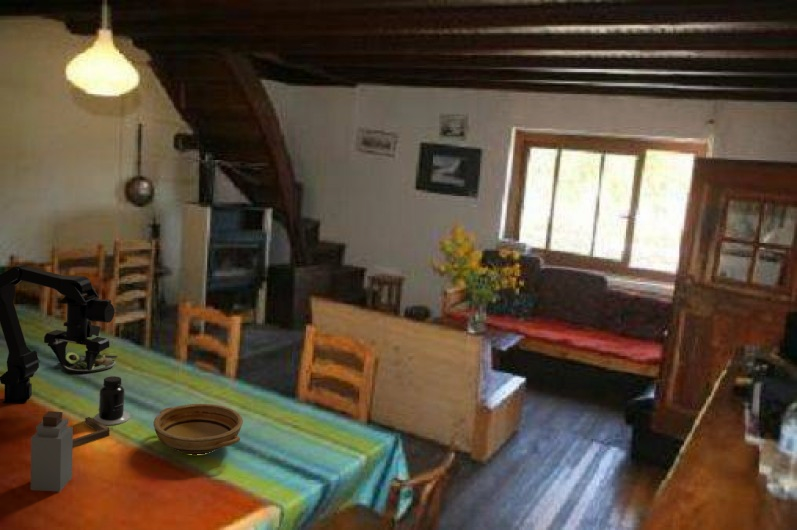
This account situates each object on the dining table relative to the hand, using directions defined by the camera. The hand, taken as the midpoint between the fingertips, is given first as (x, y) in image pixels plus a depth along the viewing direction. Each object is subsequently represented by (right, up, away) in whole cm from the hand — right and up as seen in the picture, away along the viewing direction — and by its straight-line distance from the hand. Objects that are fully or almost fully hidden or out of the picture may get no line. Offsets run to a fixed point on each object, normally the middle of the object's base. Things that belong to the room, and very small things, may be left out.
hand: (76, 367), depth 198 cm
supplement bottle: (+12, -15, -3) cm, 19 cm away
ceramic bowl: (+42, -21, -14) cm, 48 cm away
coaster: (+12, -15, -2) cm, 19 cm away
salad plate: (-15, -6, +37) cm, 41 cm away
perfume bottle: (+14, -22, -40) cm, 48 cm away
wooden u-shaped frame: (+8, -17, -15) cm, 24 cm away
